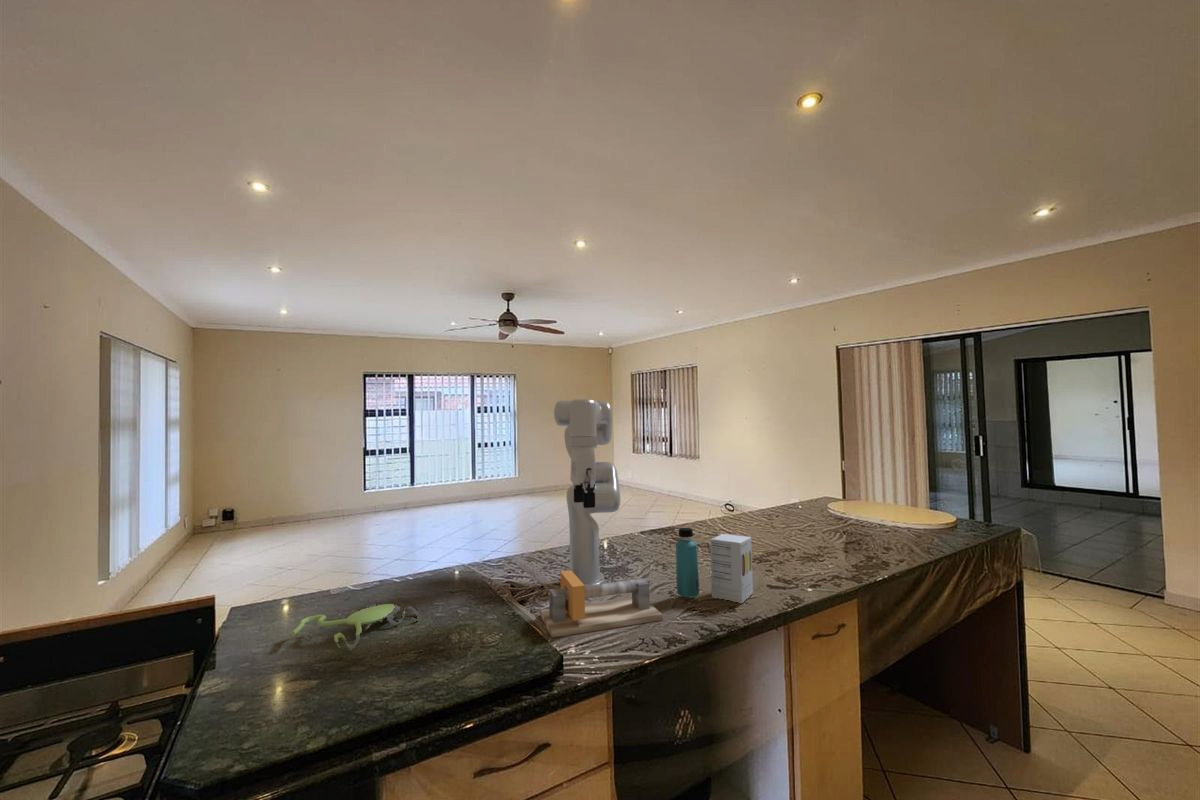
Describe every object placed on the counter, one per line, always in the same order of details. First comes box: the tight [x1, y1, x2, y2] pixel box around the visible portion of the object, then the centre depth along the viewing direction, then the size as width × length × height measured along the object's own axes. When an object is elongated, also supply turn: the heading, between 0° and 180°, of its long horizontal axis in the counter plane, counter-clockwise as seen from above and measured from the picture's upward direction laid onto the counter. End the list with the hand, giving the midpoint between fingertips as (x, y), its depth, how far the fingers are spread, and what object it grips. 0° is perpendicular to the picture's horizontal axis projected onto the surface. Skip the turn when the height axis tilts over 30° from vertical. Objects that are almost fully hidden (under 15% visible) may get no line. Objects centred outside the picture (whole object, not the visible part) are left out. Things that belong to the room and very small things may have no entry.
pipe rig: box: [539, 577, 663, 639], centre depth 120 cm, size 14×29×9 cm, turn 108°
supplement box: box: [709, 533, 754, 604], centre depth 134 cm, size 10×9×17 cm
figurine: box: [290, 603, 395, 643], centre depth 114 cm, size 18×27×6 cm
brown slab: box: [559, 569, 586, 621], centre depth 118 cm, size 13×3×8 cm, turn 18°
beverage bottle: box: [675, 527, 700, 598], centre depth 133 cm, size 6×7×20 cm
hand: (584, 504), depth 128 cm, fingers open, 9 cm apart
